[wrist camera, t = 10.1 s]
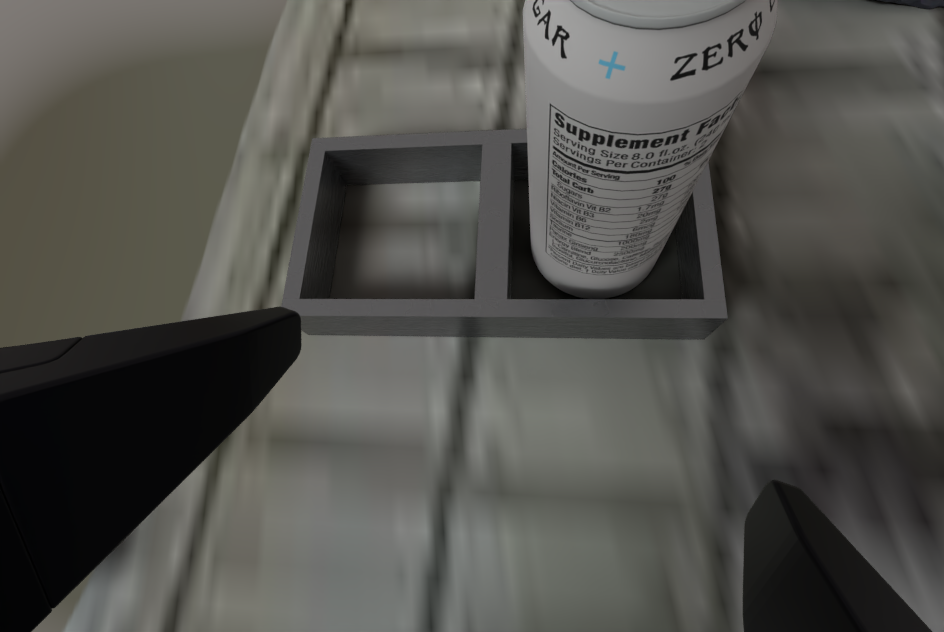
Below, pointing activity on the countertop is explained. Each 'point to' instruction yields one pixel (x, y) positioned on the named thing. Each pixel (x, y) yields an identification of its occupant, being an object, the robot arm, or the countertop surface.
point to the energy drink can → (626, 125)
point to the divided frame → (481, 250)
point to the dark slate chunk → (919, 3)
